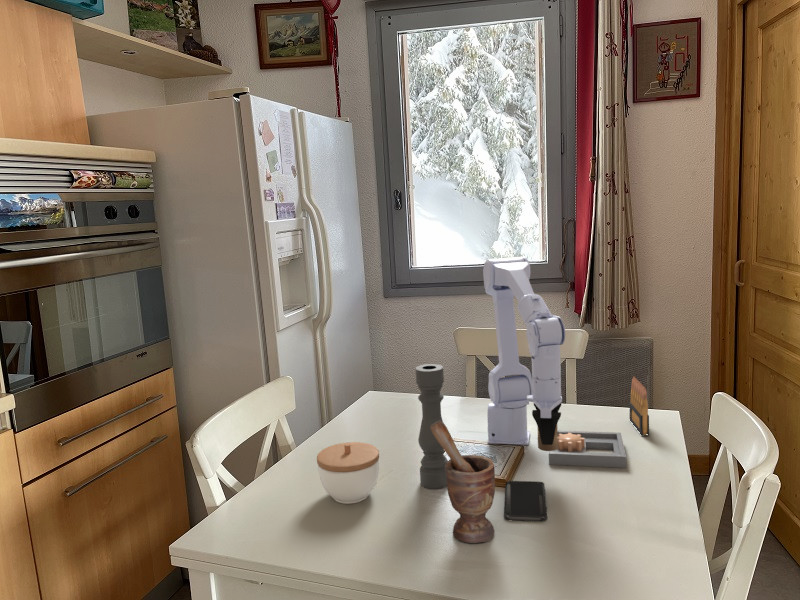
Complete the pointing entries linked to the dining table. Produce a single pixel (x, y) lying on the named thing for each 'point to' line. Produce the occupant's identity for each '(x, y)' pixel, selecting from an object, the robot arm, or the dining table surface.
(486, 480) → the mortar and pestle
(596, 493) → the dining table surface
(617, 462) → the housing
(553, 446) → the brown rounded cylinder
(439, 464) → the candle holder
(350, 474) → the lidded bowl
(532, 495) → the phone
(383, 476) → the dining table surface
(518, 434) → the robot arm
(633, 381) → the ammunition clip
